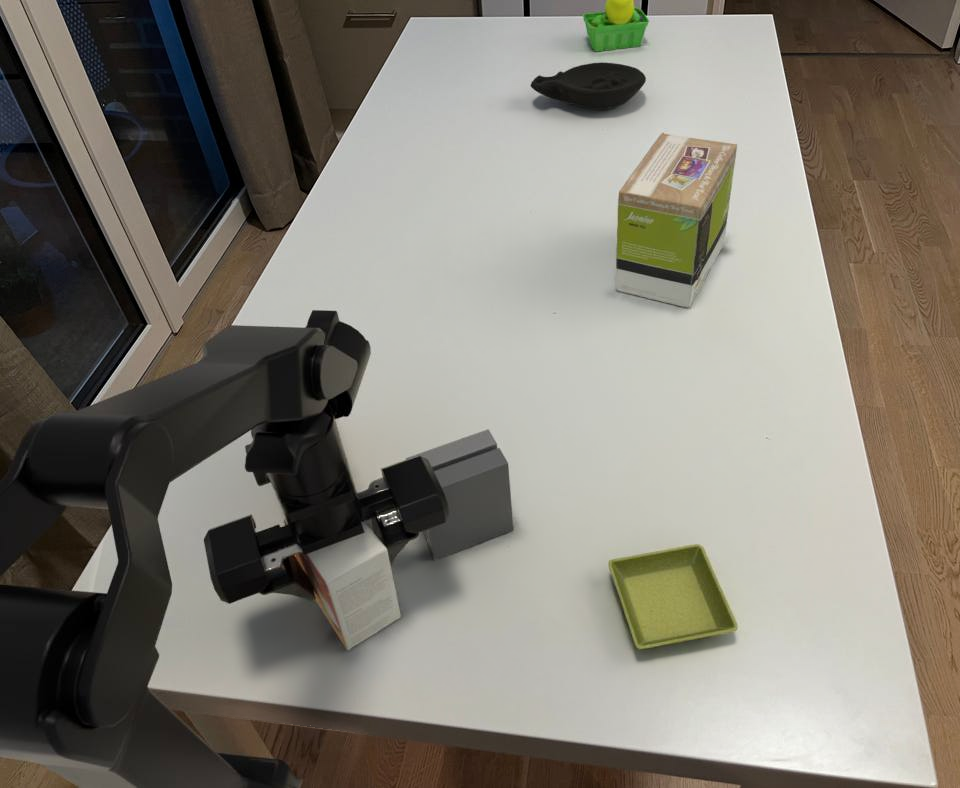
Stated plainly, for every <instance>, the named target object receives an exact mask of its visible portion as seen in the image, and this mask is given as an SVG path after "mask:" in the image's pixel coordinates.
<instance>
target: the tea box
mask: <svg viewBox="0 0 960 788" xmlns="http://www.w3.org/2000/svg"><path fill="white" fill-rule="evenodd" d="M737 151H738V143H731V142H724V141H716V140H708V139H702V138H697V137H696V138H695V137H688V136H683V135H675V134H668V133H664V132H661V134H660V135H659V136H658V137H657V139H656V140H655V141H654V142H653V144H652V145H651V147H650V148H649V150H648V151H647V153H645V155H644V156H643V158H642V160H641V161H640V162H639V164H638V165H637V166H636V167H635V168H634V170H633V172H632V173H631V175H630V176H629V177H628V178H627V180H626V181H625V182H624V185H622V187H621V188H620V190H619V191H618V197H617V198H618V199H617V223H616V224H617V226H616V252H615V254H616V255H615V264H616V265H615V287H614V288H615V290H617V292H621V293H625V294H629V295H633V296H638V297H641V298H645V299H650V300H653V301H658V302H662V303H666V304H669V305H675V306H678V307H683V308H690V307H691V305H692V303H693V301H694V299H695V298H696V296H697V295H698V292H699V291H700V289H701V286H702V285H703V283H704V281H705V279H706V278H707V276H708V274H709V272H710V270H711V268H712V267H713V264H714V262H715V261H716V259H717V258H718V256H719V254H720V253H721V250H722V248H723V246H724V244H725V239H726V232H727V224H728V216H729V211H730V202H731V200H730V199H731V192H732V187H733V178H734V172H735V165H736V157H737Z"/></svg>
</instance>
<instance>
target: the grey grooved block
mask: <svg viewBox="0 0 960 788" xmlns="http://www.w3.org/2000/svg"><path fill="white" fill-rule="evenodd" d="M415 456H422V457H424V458H426V459H428V460H429V462H430V464H431V466H432V468H433V470H434V473H435V475H436V477H437V479H438V481H439V483H440V485H441V487H442V489H443V491H444V493H445V496H446V499H447V502H448V507H449V513H450V516H449V518H448V520H447V521H446V523H444V524H441V525H438V526H436V527H433V528H430V529H428V530H425V531H422V533H423V536H424V537H425V540H427V544H428V547H429V550H430V552H431V555H432V556H433V558H434V561H438V560H441V559H443V558H445V557H448V556H451V555H454V554H456V553H459V552H461V551H463V550H467V549H469V548H471V547H474V546H477V545H479V544H482V543H484V542H487V541H490V540H493V539H495V538H497V537H500V536H503V535H505V534H508V533H510V532H514V519H513V508H512V495H511V482H510V467H509V462H508V460H507V458H506V456H505V455H504V453H503V451H502V449H501V448H500V447H498V443H497V441H496V439H495V437H494V436H493V434H492V433H491V430H490V429H485V430H482V431H479V432H477V433H474V434H470V435H468V436H465V437H462V438H460V439H456V440H454V441H451V442H448V443H445V444H441V445H440V446H439V445H438V446H437V447H434V448H432V449H431V448H430V449H427V450H425V451H423V452H420V453H417V454H414V455H411V456H408V457H406V458H405V460H407V459H410V458H412V457H415Z"/></svg>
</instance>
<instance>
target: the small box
mask: <svg viewBox="0 0 960 788" xmlns="http://www.w3.org/2000/svg"><path fill="white" fill-rule="evenodd" d="M361 523H362V526H363V529H364V532H365V533H363V534H360V535H357V536H355V537H352V538H349V539H346V540H344V541H341V542H338V543H336V544H333V545H330V546H327V547H325V548H322V549H319V550H317V551H314V552H311V553H308V554H306V555H304V554H303V552H301V553H298V554H296V555H295V557H296V558H297V560H298V562H299V563H300V565H301V566H302V568H303V570H304V571H305V573H306V574H307V576H308V578H309V580H310V583H311V585H312V588H313V590H314V593H315V597H316V599H315V600H314V601H315V602H316V604H317V605H318V606H319V608H320V610H321V612H322V613H323V615H324V617H325V618H326V619H327V621H328V623H329V624H330V626H331V627H332V629H333V630H334V632H335V634H336V635H337V637H338V638H339V640H340V641H341V643H342V644H343V646H344V648H345V649H346V650H351V649H352V648H354V647H355V646H357V645H359V644H360V643H362V642H364V641H365V640H367V639H368V638H370V637H372V636H373V635H375V634H376V633H378V632H380V631H382V630H384V629H385V628H386V627H388V626H389V625H391V624H393V623H394V622H396V621H397V620H399V619H400V618H401V617H402V615H401V611H400V606H399V605H400V604H399V601H398V595H397V590H396V586H395V581H394V576H393V571H392V565H391V566H390V561H389V556H388V551H387V548H386V547H385V546H384V545H383V544H382V542H381V541H380V540H379V539H378V538H377V536H376V535H375V534H374V533H373V529H372V528H371V527H370V526H369V525H368V524H367V521H364V522H361ZM283 524H284V526H286V525H288V523H287V520H286V518H284V519H283Z"/></svg>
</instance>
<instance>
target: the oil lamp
mask: <svg viewBox="0 0 960 788" xmlns="http://www.w3.org/2000/svg"><path fill="white" fill-rule="evenodd" d="M646 81H647V77H646V75H645V74H644V73H643V72H642V71H641V70H640V69H639V68H636V67H634V66H630V65H625V64H623V63H614V62H603V61H601V62H592V63H591V62H590V63H585V64H581V65H577V66H573V67H571V68H568V69H567V70H565V71H558V72H557V74H555V75H552V76H543V75H537V76H536V77H535V78H534V79H533V80H532V81H531V82H530V87H531V89H532V90H534V91H535V92H536V93H538V94H540V95H542V96H544V97H546V98H549V99H551V100H554V101H558V102H561V103H562V102H563V103H566V104H570V105H573V106H577V107H581V108H584V109H585V108H586V109H590V110H605V109H606V110H607V109H613V108H618V107H619V106H623V105H624V104H626V103H628V101H630V100H631V99H632V98H633V97H634V96H635V95H636V94H637V93H638V92H639V91H640V90H641V89H642V88H643V87H644V85H645V83H646Z"/></svg>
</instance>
